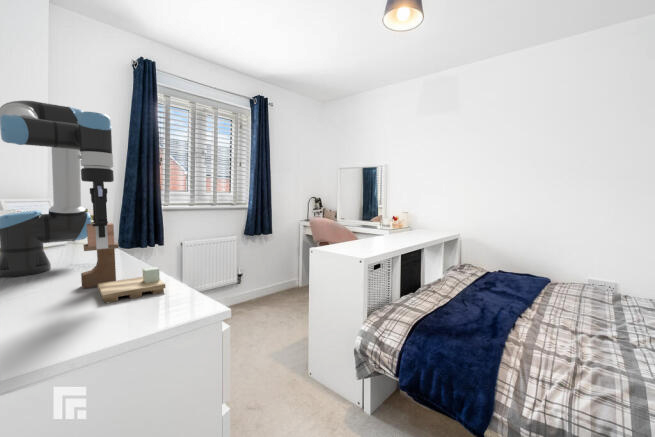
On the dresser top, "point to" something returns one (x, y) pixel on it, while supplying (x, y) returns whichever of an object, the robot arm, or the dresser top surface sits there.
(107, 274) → the wooden block
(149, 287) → the wooden pallet
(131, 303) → the dresser top surface
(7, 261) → the robot arm
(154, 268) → the pale green cube
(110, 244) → the pink slab on base
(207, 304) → the dresser top surface
